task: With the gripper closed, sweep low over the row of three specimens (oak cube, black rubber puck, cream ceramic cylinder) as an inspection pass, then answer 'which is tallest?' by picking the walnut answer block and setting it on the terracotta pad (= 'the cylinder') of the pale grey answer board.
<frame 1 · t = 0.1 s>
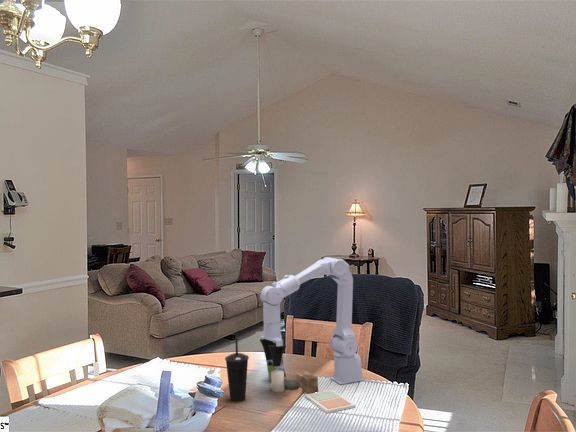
hand: (273, 362, 169), 10 cm above the table, fingers open, 7 cm apart
drinking cup: (237, 399, 164), on the table
answer block: (310, 391, 170), on the table
answer board: (329, 402, 160), on the table
ceramic cylinder: (277, 389, 172), on the table
rubber puck: (291, 388, 174), on the table
beverage can: (275, 381, 181), on the table
oak cube: (304, 385, 176), on the table
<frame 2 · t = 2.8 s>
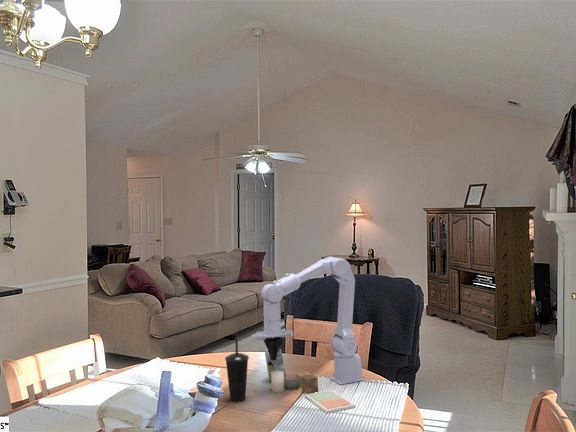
hand: (273, 359, 171), 10 cm above the table, fingers closed
nothing on the table moved.
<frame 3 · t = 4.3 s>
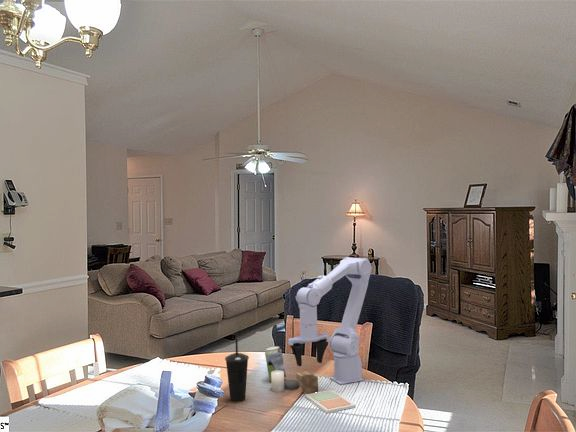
hand: (309, 363, 170), 9 cm above the table, fingers open, 7 cm apart
nothing on the table moved.
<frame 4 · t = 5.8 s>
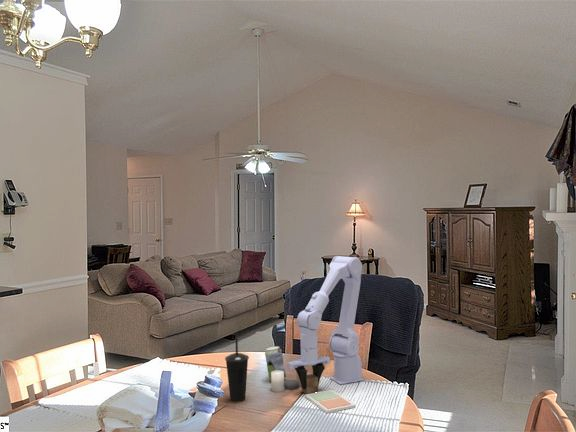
hand: (310, 387, 170), 1 cm above the table, fingers closed on answer block, 4 cm apart
answer block: (310, 391, 170), on the table, touching gripper
everything else where it was.
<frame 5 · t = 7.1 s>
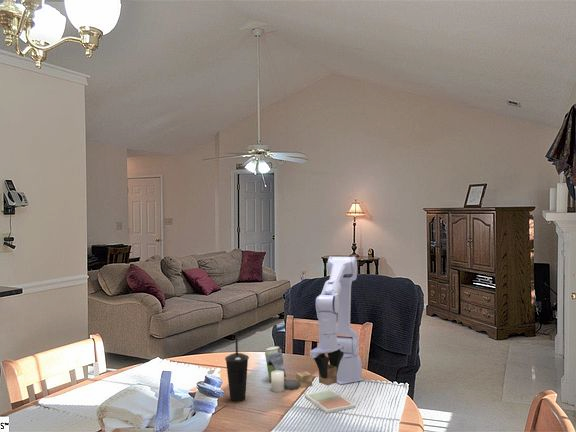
hand: (328, 376, 159), 9 cm above the table, fingers closed on answer block, 4 cm apart
answer block: (327, 382, 159), point 6 cm above the table, touching gripper
everything else where it was.
when the fingers open (3 cm above the table, at t = 8.7 s): answer block stays where it is, resting on answer board.
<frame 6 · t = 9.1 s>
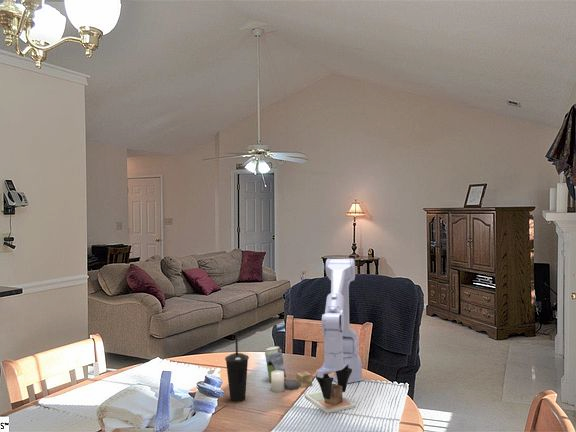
hand: (334, 394, 156), 3 cm above the table, fingers open, 7 cm apart
answer block: (333, 402, 157), point 1 cm above the table, touching answer board
everything else where it was.
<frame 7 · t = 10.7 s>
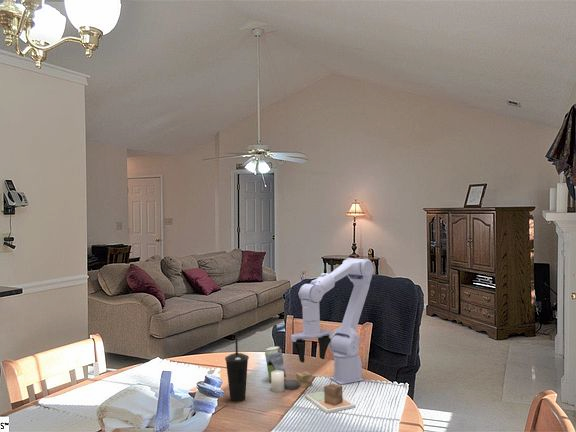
hand: (312, 360, 170), 10 cm above the table, fingers open, 7 cm apart
nothing on the table moved.
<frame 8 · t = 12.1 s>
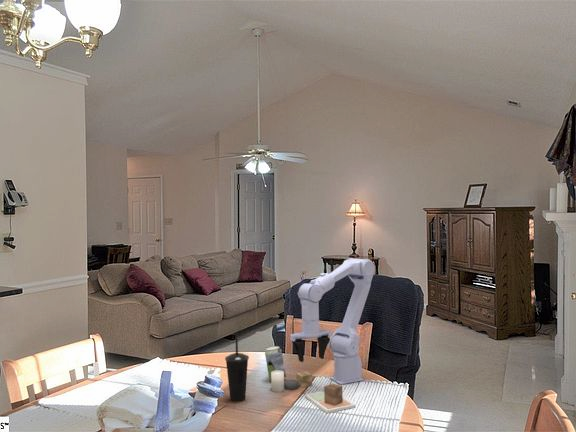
hand: (311, 359, 171), 10 cm above the table, fingers open, 7 cm apart
nothing on the table moved.
at the end: answer block inside the target area on the answer board (0.9 cm from its centre), point 1.0 cm above the answer board's base; answer block tilted 0°; the gripper is holding nothing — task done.
